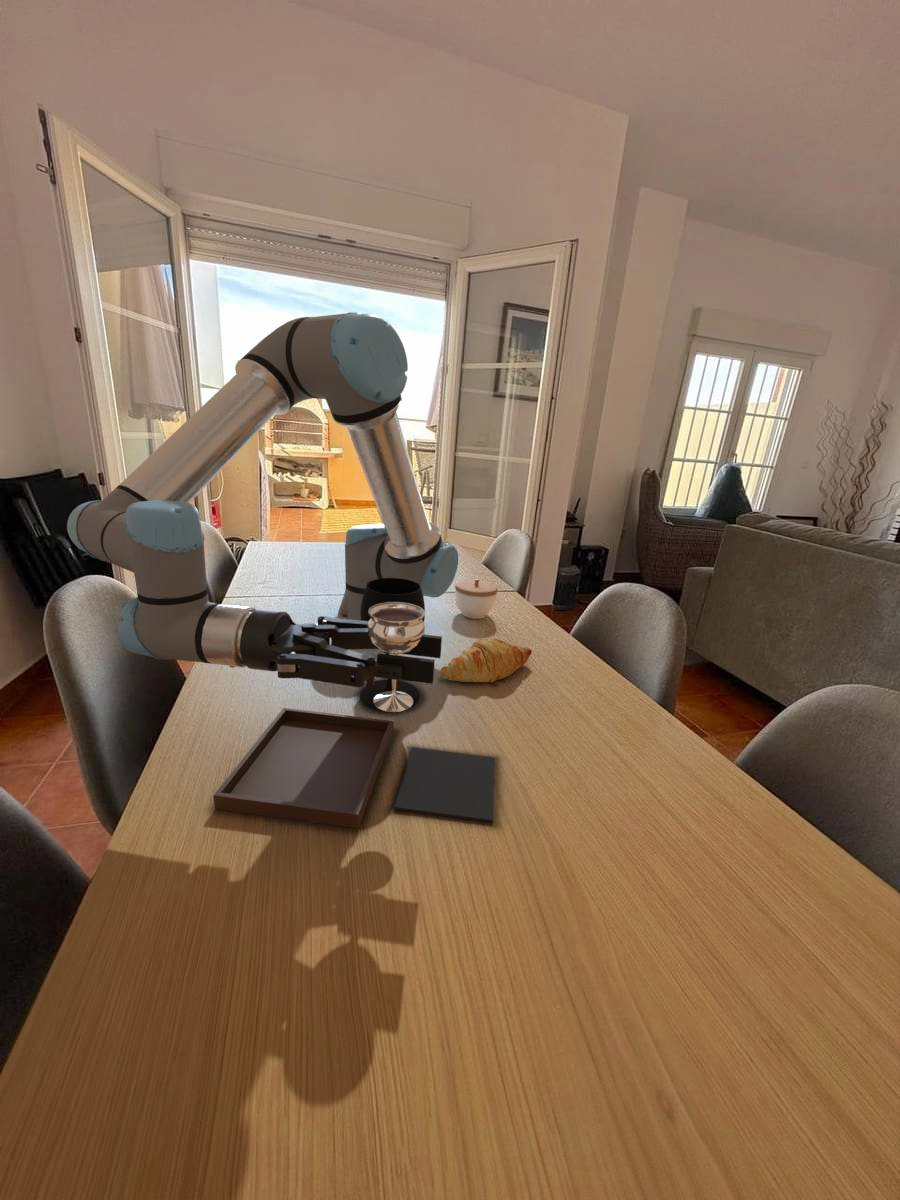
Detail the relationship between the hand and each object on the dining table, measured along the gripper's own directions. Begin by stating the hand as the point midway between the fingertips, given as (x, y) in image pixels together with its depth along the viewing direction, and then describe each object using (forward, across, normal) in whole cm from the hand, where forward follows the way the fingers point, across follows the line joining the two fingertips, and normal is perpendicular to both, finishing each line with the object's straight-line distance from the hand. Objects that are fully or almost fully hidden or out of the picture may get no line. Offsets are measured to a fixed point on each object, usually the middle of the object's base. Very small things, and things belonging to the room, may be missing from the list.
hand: (437, 658), depth 58 cm
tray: (-15, 0, -18) cm, 24 cm away
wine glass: (-10, -20, -18) cm, 29 cm away
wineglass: (-5, 0, -7) cm, 8 cm away
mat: (+3, 0, -18) cm, 18 cm away
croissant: (+6, -33, -18) cm, 38 cm away
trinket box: (+2, -64, -18) cm, 67 cm away
